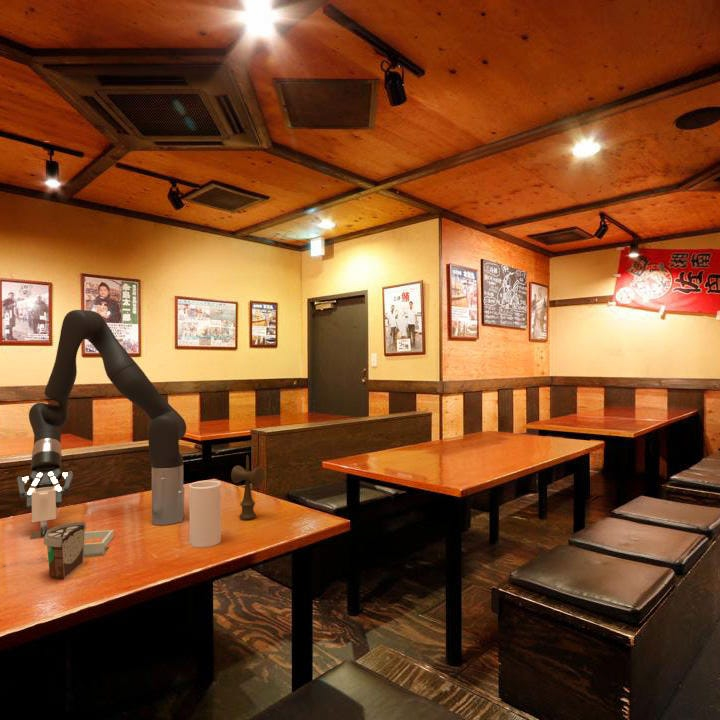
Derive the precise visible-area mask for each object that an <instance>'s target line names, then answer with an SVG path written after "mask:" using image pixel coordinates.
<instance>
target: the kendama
mask: <svg viewBox="0 0 720 720" xmlns="http://www.w3.org/2000/svg"><path fill="white" fill-rule="evenodd" d="M245 459H246V460H245V468H244V467H243V466H241V465H235V466H233V468H232V469H231V473H230V478H231V481H232V483H234V484H236V483H240V482H242V481H244V482H245V483H244V493H243V498H242V500H241V502H240V506H241V513H240V514H239V515H238V517H239V519H240V520H243V521H244V520H248V521H249V520H253V519H255V518H256V517H257V514H256V512H255V510H254V507H255V505H256V502H255V501H254V499H253V496H252V489H251V484H252V485H253V486H255V487H261V486H262V484H263V483H264V480H265V469H264V467H262V466H258V467H256V468H254V469H253V470H250V457H249V455H248V454H247V455H246V458H245Z"/></svg>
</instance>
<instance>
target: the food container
mask: <svg viewBox="0 0 720 720" xmlns="http://www.w3.org/2000/svg"><path fill="white" fill-rule="evenodd" d="M47 530H48V531H47V533H46V535H45V538H43V544H44V546H46V549H47V559H48V569H49V570H48V571H49V577H50V578H52V579H53V580H66V578H68V577H69V576H70V575H72V573H74V572H75V571H76V570H77V569H78V568H79V567H81V566H82V565H83V564H84V557H83V556H84V544H85V539H84V533H85V532H86V531H85V530H87V525H86V521H73V522H69V523H64V524H60V525H56V526H54V527H51V528H50V529H47Z"/></svg>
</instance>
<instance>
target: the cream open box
mask: <svg viewBox="0 0 720 720" xmlns="http://www.w3.org/2000/svg"><path fill="white" fill-rule="evenodd" d="M56 492H57V490H56V487H54V486H52V487H43V488H37V489H35V490H33V491H32V510H31V522H32V523H35V522H41V521H45V520H47V521H50V520H51V521H52V520H56V519H57V517H58V507H56Z"/></svg>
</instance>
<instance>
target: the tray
mask: <svg viewBox="0 0 720 720" xmlns="http://www.w3.org/2000/svg"><path fill="white" fill-rule="evenodd" d="M113 537H115V531H114V529H112V530H111V529H107V530H96V531H95V530H94V531H85V533H84V540H93V539H102V540H101V542H87V543H84V556H83V558H89V557H101V556H104V555H105V554H106V552H107V551H108V550H109V549H110V546H107V545H108V544H109V543H110V542H111V540H112V539H113Z"/></svg>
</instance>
